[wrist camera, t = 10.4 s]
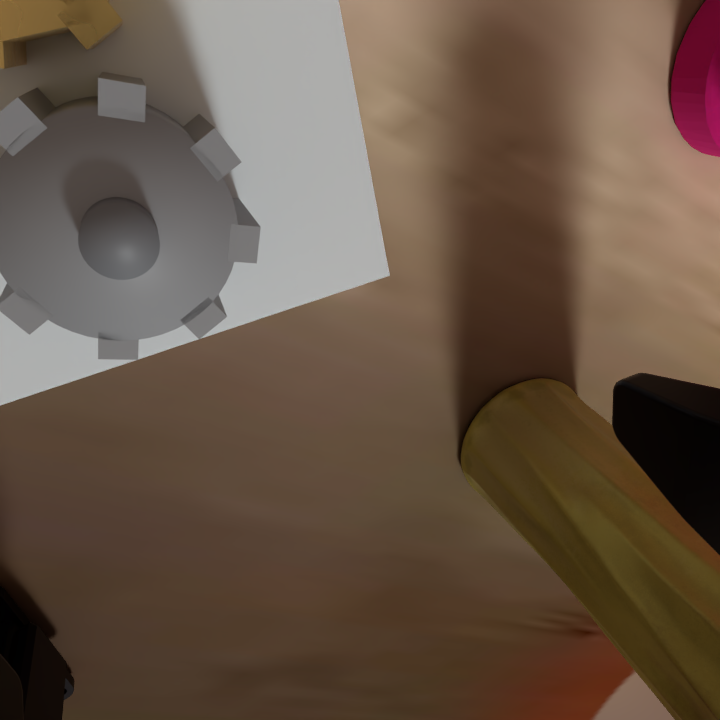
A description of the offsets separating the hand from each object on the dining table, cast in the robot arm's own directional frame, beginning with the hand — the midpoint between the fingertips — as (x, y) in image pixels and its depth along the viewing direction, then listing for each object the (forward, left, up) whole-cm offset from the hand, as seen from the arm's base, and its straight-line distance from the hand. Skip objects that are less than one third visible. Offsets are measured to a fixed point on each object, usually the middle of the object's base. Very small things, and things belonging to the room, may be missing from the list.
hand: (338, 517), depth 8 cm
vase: (+10, -12, -13) cm, 20 cm away
